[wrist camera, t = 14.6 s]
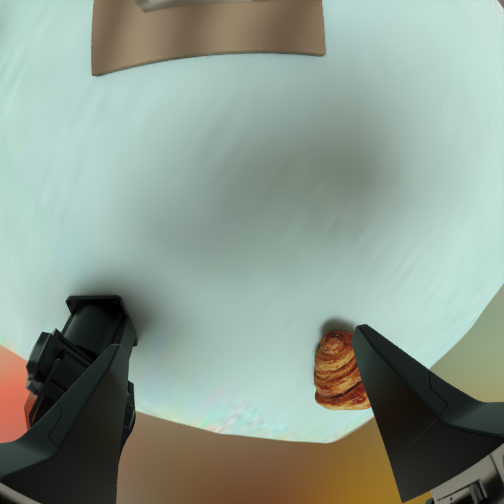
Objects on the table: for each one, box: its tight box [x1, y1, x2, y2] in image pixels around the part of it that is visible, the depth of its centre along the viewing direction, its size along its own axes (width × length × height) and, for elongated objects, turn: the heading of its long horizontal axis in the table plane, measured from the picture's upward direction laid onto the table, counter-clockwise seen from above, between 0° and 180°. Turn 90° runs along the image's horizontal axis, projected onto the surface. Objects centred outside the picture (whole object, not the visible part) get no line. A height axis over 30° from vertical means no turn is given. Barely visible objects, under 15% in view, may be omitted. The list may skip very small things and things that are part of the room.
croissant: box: [314, 330, 371, 410], centre depth 30 cm, size 21×10×8 cm
